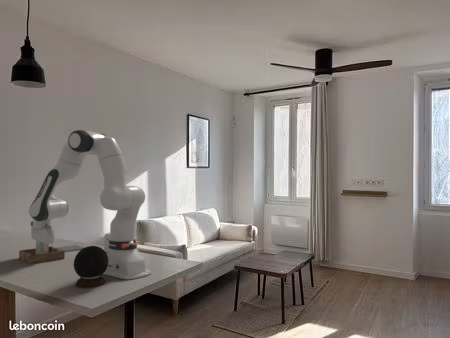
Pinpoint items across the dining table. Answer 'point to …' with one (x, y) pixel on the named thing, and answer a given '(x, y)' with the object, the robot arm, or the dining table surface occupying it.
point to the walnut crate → (41, 255)
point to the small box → (106, 242)
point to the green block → (40, 248)
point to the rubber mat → (71, 248)
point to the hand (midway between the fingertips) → (42, 250)
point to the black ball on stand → (90, 266)
